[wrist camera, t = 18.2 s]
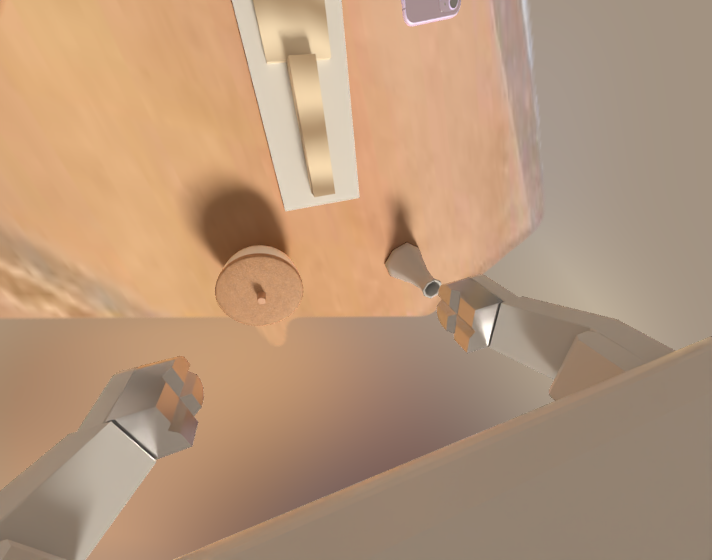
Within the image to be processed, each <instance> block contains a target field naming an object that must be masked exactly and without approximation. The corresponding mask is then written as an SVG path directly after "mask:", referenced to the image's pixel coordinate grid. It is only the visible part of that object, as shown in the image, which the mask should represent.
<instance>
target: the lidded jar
mask: <svg viewBox="0 0 712 560" xmlns="http://www.w3.org/2000/svg"><path fill="white" fill-rule="evenodd" d="M215 295H216V300H217V302H218V304H219V306H220V308H221V309H222V310H223V311H224V312H225V313H226V314H227V315H228V316H229V317H231V318H232V319H234V320H236V321H238V322H240V323H243V324H247V325H253V326H265V325H271V324H275V323H278V322H280V321H282V320H284V319H286V318H287V317H289V316H290V315H291V314H292V313H293V312H294V311H295V310H296V309H297V308H298V306H299V304H300V303H301V300H302V296H303V285H302V280H301V278H300V275H299V273H298V270H297V268H296V266H295V264H294V263H293V261H292V260H291V259H290V258H289V257H288V256H287V255H286V254H285V253H284V252H282V251H280V250H279V249H276V248H274V247H270V246H264V245H255V246H250V247H247V248H244V249H242V250H240V251H238V252H237V253H235V254H234V255H233V256H232V257H231V258H230V259H229V260H228V261H227V263H226V264H225V266H224V267H223V269H222V272H221V273H220V275H219V277H218V279H217V282H216V287H215Z"/></svg>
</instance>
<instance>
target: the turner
mask: <svg viewBox="0 0 712 560" xmlns="http://www.w3.org/2000/svg"><path fill="white" fill-rule="evenodd" d="M253 4H254V9H255V13H256V18H257V22H258V27H259V31H260V36H261V40H262V45H263V49H264V54H265V58H266V63H267V64H270V63H285V62H286V64H287V69H288V74H289V79H290V85H291V90H292V95H293V100H294V106H295V111H296V116H297V121H298V126H299V132H300V137H301V142H302V147H303V153H304V158H305V163H306V168H307V173H308V179H309V184H310V189H311V193H312V195H313V196H314V197H319V196H325V195H331V194H335V188H334V180H333V173H332V166H331V159H330V152H329V145H328V138H327V131H326V124H325V117H324V110H323V103H322V96H321V89H320V82H319V75H318V68H317V61H316V60H329V59H330V58H331V51H330V42H329V34H328V25H327V16H326V8H325V0H253Z"/></svg>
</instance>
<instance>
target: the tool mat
mask: <svg viewBox="0 0 712 560" xmlns="http://www.w3.org/2000/svg"><path fill="white" fill-rule="evenodd" d="M232 3H233V7H234V11H235V15H236V19H237V22H238V26H239V30H240V34H241V38H242V42H243V46H244V50H245V54H246V58H247V62H248V66H249V70H250V74H251V78H252V82H253V86H254V89H255V93H256V97H257V101H258V105H259V109H260V113H261V117H262V121H263V125H264V129H265V133H266V137H267V141H268V145H269V149H270V153H271V157H272V160H273V164H274V168H275V172H276V176H277V180H278V184H279V188H280V192H281V196H282V200H283V204H284V208H285V211H290V210H296V209H301V208H307V207H312V206H317V205H323V204H328V203H334V202H339V201H345V200H350V199H356V198H360V197H359V186H358V175H357V164H356V154H355V143H354V132H353V121H352V110H351V99H350V88H349V77H348V66H347V55H346V44H345V34H344V23H343V12H342V1H341V0H325V8H326V16H327V25H328V34H329V42H330V51H331V58H330V59H329V60H316V61H317V68H318V75H319V82H320V89H321V96H322V103H323V110H324V117H325V124H326V131H327V138H328V145H329V152H330V159H331V166H332V173H333V180H334V188H335V194H331V195H325V196H319V197H314V196H313V195H312V193H311V189H310V184H309V179H308V173H307V168H306V163H305V158H304V153H303V147H302V142H301V137H300V132H299V126H298V121H297V116H296V111H295V106H294V100H293V95H292V90H291V85H290V79H289V74H288V69H287V64H286V62H285V63H270V64H267V63H266V58H265V54H264V49H263V45H262V40H261V36H260V31H259V27H258V22H257V18H256V13H255V9H254V4H253V0H232Z"/></svg>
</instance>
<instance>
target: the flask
mask: <svg viewBox="0 0 712 560" xmlns="http://www.w3.org/2000/svg"><path fill="white" fill-rule="evenodd" d="M385 266H386V268H387V270H388V272H389V275H390V276H392V277H395V278H397V279H400V280H403V281H406V282H409V283H411V284H414V285H415V286H417V287H418V288H420V289H421V290H422V291H423V294H424V296H426V297H428V298H432V297H434V296H436V295H437V294H438V291H439V288H440V286H441V282H440V281H439V280H436V279H434V278H433V277H432V276H431V275H430V273H429V272H428V270H427V268H426V265H425V263H424V261H423V258H422V255H421V253H420V250H419V248H418V247H416V246H414V245H411V244H409V243H405V244H403V245H401V246H400V247H398V248H396V249H394V250H393V251H392V253H391V254H390V256H389V258H388V260H387V261H386V263H385Z"/></svg>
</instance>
